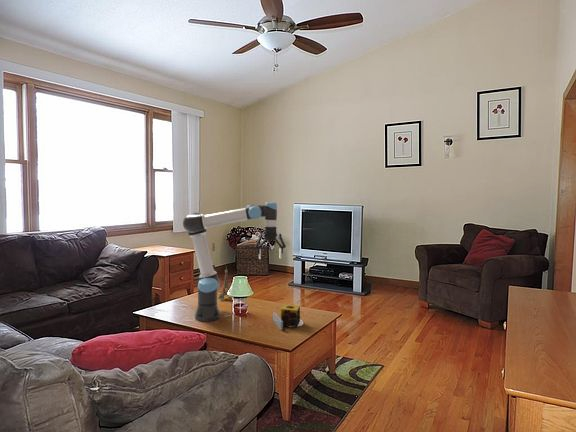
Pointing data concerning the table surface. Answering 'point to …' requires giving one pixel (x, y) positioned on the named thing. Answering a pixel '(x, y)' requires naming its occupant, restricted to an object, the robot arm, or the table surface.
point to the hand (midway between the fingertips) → (270, 258)
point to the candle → (290, 315)
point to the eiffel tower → (224, 287)
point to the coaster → (299, 324)
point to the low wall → (278, 321)
